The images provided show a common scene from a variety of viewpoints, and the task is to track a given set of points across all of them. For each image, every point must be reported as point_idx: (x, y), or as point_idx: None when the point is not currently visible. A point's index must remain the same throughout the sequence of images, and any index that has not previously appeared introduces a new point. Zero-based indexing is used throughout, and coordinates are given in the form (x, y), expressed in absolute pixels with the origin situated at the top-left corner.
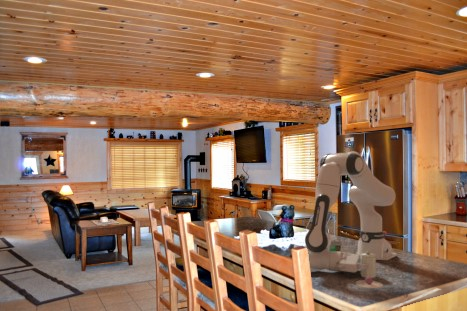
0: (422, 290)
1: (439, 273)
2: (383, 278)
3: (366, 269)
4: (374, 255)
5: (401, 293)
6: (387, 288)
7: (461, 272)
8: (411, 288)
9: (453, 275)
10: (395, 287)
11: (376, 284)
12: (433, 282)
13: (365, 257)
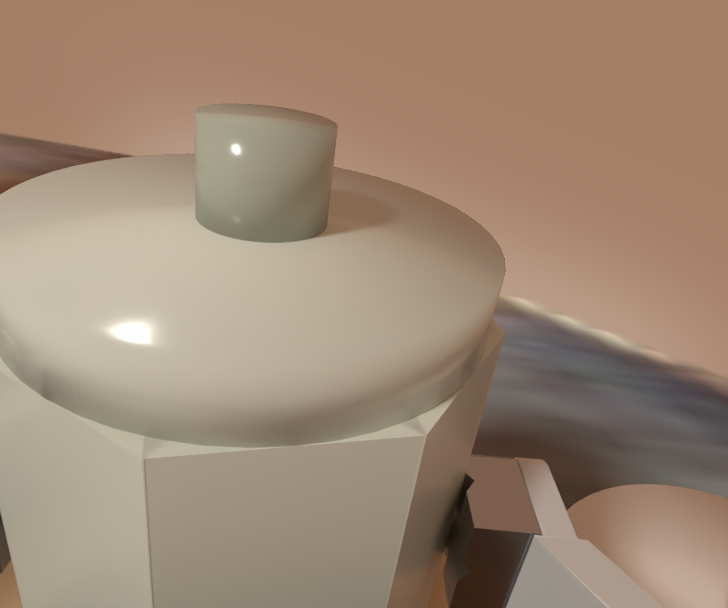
0: (503, 292)
1: (28, 179)
2: None
3: (428, 591)
4: (358, 174)
5: (702, 392)
6: (655, 468)
7: (18, 137)
8: None
9: (85, 161)
10: (556, 406)
11: (703, 553)
12: None
13: (485, 342)
